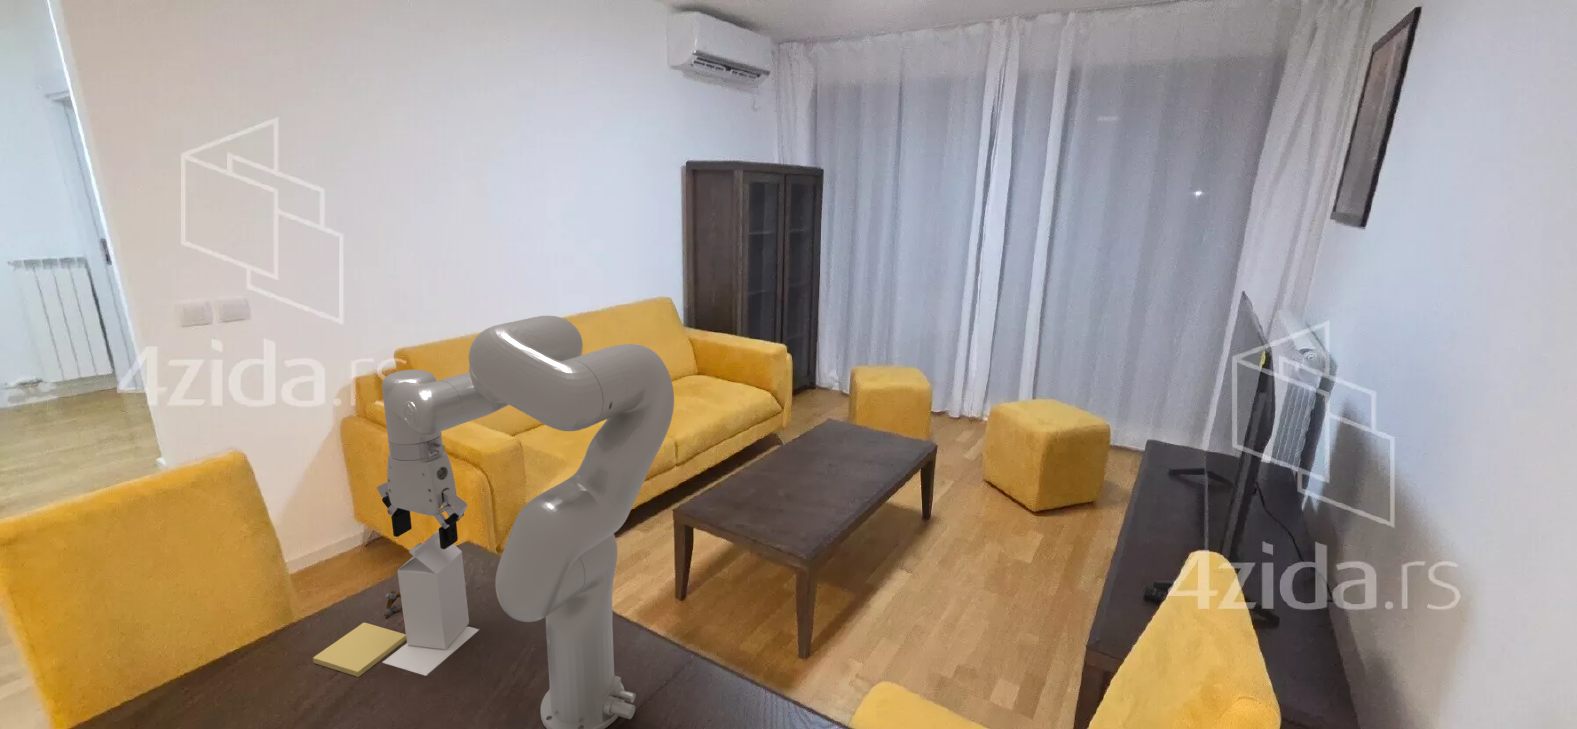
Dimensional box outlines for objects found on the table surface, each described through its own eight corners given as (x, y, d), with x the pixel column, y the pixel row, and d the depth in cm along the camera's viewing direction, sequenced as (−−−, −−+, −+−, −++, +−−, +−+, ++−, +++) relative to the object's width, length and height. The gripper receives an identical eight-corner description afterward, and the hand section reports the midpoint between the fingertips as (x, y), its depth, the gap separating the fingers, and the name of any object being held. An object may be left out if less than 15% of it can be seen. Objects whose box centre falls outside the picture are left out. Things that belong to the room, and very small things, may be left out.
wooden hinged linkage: (377, 616, 118) (383, 590, 119) (413, 607, 126) (418, 584, 127) (384, 618, 118) (390, 593, 118) (420, 610, 126) (426, 586, 126)
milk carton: (469, 623, 119) (460, 530, 113) (446, 650, 112) (434, 553, 107) (432, 619, 119) (421, 527, 114) (406, 646, 112) (393, 548, 107)
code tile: (479, 630, 117) (479, 629, 117) (426, 677, 106) (425, 675, 106) (438, 619, 120) (438, 618, 120) (382, 663, 109) (382, 662, 109)
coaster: (407, 639, 114) (406, 634, 114) (358, 676, 105) (357, 671, 105) (364, 627, 117) (363, 622, 116) (313, 662, 108) (312, 657, 108)
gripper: (477, 446, 107) (484, 538, 112) (393, 429, 111) (403, 518, 116) (441, 464, 100) (450, 561, 105) (353, 445, 104) (366, 539, 109)
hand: (425, 538), depth 111 cm, fingers open, 9 cm apart
